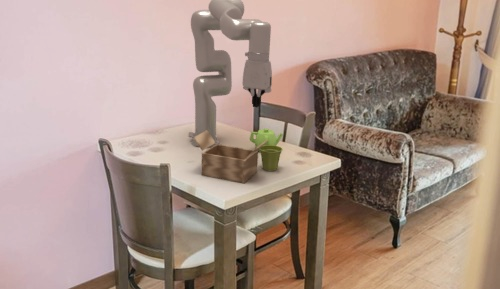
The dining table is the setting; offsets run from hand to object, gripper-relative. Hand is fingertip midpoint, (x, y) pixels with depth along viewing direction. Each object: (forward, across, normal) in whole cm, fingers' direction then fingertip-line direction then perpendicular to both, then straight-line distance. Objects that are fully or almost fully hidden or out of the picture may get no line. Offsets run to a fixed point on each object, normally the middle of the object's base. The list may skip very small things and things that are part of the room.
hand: (256, 106), depth 183 cm
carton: (+28, -8, -3) cm, 29 cm away
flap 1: (+16, -20, -3) cm, 25 cm away
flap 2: (+15, +2, -3) cm, 16 cm away
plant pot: (+28, +4, +10) cm, 30 cm away
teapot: (+28, -7, +32) cm, 43 cm away
